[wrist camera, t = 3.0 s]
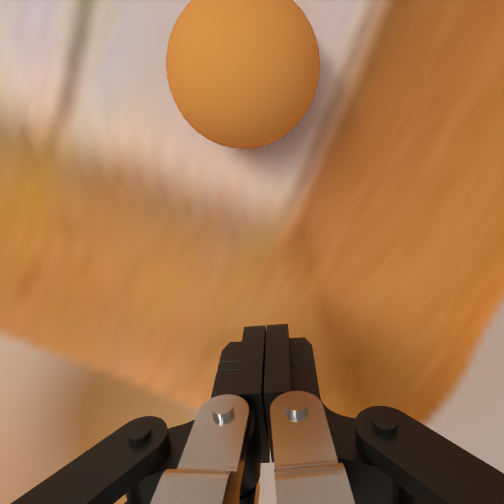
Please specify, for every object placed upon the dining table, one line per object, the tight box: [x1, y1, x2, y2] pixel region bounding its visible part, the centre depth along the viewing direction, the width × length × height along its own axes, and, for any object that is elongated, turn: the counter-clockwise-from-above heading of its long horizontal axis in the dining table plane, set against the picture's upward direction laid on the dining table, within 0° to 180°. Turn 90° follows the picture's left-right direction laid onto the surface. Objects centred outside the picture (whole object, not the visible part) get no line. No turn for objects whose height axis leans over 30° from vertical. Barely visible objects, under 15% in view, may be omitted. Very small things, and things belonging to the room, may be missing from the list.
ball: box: [166, 0, 320, 149], centre depth 14 cm, size 6×6×6 cm
